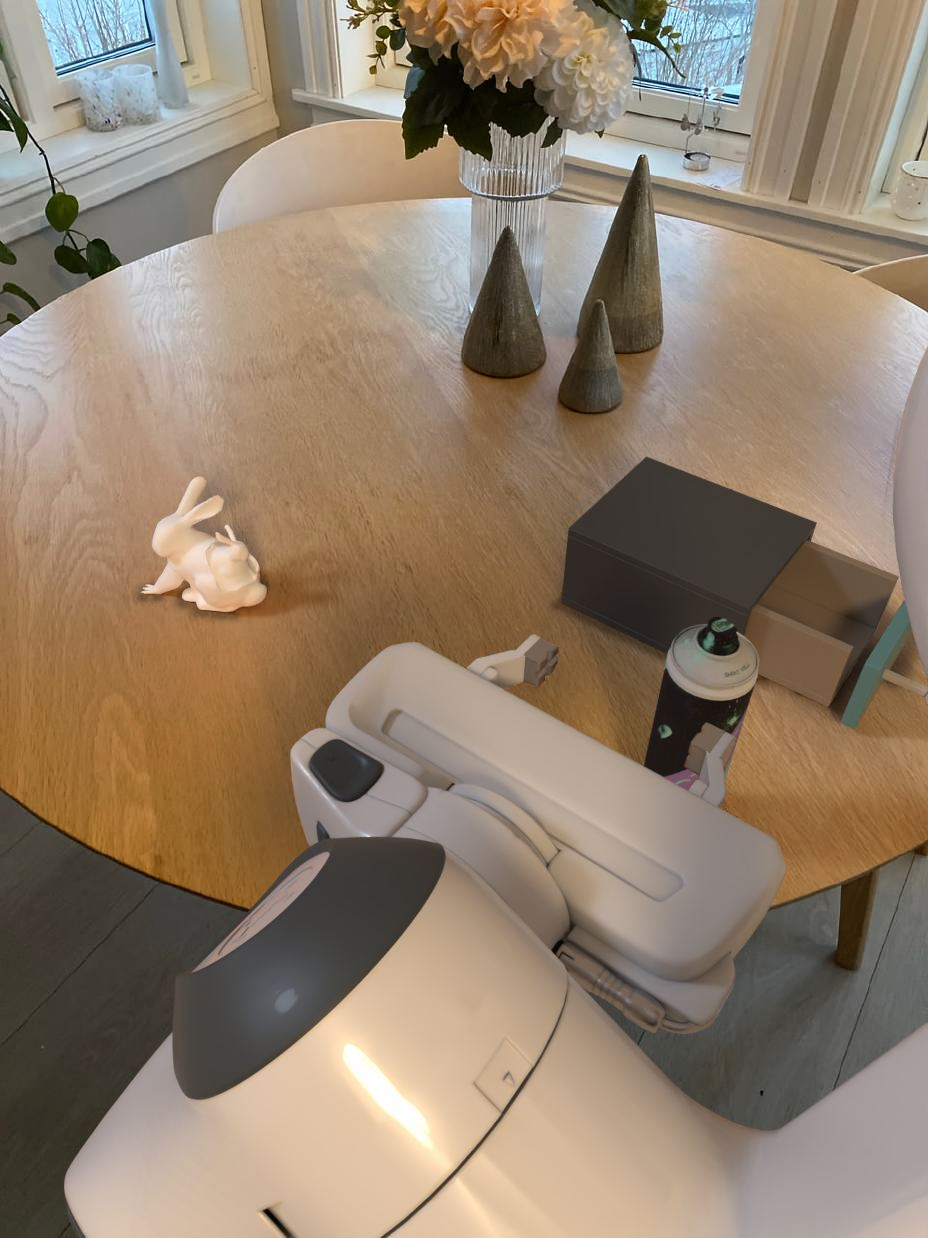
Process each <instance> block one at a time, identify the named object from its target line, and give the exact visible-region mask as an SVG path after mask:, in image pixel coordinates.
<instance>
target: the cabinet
mask: <svg viewBox="0 0 928 1238" xmlns="http://www.w3.org/2000/svg"><path fill="white" fill-rule="evenodd" d="M816 526H817V521H814V520H812V519H809V518H807V517H804V516H802V515H799V514H796V513H793V512H790V511H788V510H785V509H783V508H781V507H778V506H776V505H773V504H770V503H769V502H765V501H762V500H760V499H757V498H755V497H752V496H750V495H747V494H744V493H742V492H740V491H737V490H734V489H732V488H730V487H726V486H723V485H721V484H719V483H717V482H714V481H711V480H708V479H706V478H703V477H700V476H698V475H696V474H693V473H690V472H687V471H685V470H683V469H679V468H678V467H675V466H672V465H669V464H667V463H665V462H662V461H659V460H657V459H654V458H652V457H649V456H645V457H644V458H643V459H642V460H641V461H640V462H638V463H637V464H636V465H635V466H634V467H633V468H632V469H631V470H630V471H629V472H628V473H627V474H626V475H624V476H623V477H622V478H621V479H620V480H619V481H618V482H617V483H616V484H615V485H614V486H612V487H611V488H610V489H609V490H608V491H607V492H606V493H605V494H604V495H602V497H600V498H599V499H598V500H597V501H596V502H595V503H594V504H593V505H591V507H590V508H588V510H586V511H585V512H584V513H583V514H582V515H581V516H580V517H579V518H577V520H576V521H574V522H573V523H572V524H571V525H570V526H568V528H567V538H566V548H565V559H564V567H563V578H562V589H561V598H560V603H561V604H563V605H565V606H567V607H569V608H571V609H573V610H575V611H577V612H578V613H579V612H580V613H582V614H584V615H585V616H588V617H590V618H592V619H594V620H596V621H598V622H600V623H602V624H604V625H606V626H608V627H611V628H612V629H615V630H617V631H619V632H621V633H623V634H625V635H627V636H629V637H631V638H633V639H636V640H637V641H640V642H642V643H643V644H645V645H647V646H650V647H652V648H654V649H656V650H657V651H660V652H662V653H664V654H666V655H667V654H668V651H669V649H670V647H671V644H672V642H673V640H674V638H675V637H676V635H677V634H678V633H680V632H681V631H682V630H684V629H686V628H688V627H691V626H695V625H702V624H708V622H709V620H710V619H711V618H713V617H722V618H724V619H726V620H728V621H729V622H731V623H732V624H733V625H735V627H736V628H737V632H738V633H740V634H741V635H743V636H744V635H745V631H746V628H747V624H748V621H749V617H750V614H751V610H752V609H753V608H754V607H755V605H756V604H757V603H758V601H759V600H760V599H761V598H762V596H763V595H764V594H765V592H766V591H767V590H768V589H769V587H770V586H771V585H772V583H773V582H774V581H775V580H776V578H777V577H778V576H779V575H780V573H781V572H782V571H783V569H784V568H785V567H786V566H787V564H788V563H789V562H790V560H791V559H792V558H793V557H794V555H795V554H796V553H797V552H798V550H799V549H800V548H801V546H802V545H803V544H804V543H805V541H806V540H808V541H811V542H812V539H813V537H814V533H815V530H816Z"/></svg>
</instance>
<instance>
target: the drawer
mask: <svg viewBox="0 0 928 1238" xmlns="http://www.w3.org/2000/svg"><path fill="white" fill-rule="evenodd" d="M899 579H900V575H896V574H893V573H891V572H889V571H886V570H884V569H881V568H878V567H876V566H874V565H871V564H869V563H866V562H865V561H861V560H859V559H857V558H854V557H852V556H849V555H847V554H843V553H841V552H839V551H836V550H834V549H831V548H829V547H826V546H824V545H821V544H818V543H816V542H813V541H812V540H811V541H808V540H806V541H805V543H804V544H803V545H802V546H801V548H800V549H799V550H798V552H797V553H796V554H795V555H794V557H793V558H792V559H791V560H790V562H789V563H788V564H787V566H786V567H785V568H784V569H783V571H782V572H781V573H780V575H779V576H778V577H777V578H776V580H775V581H774V582H773V583H772V585H771V586H770V587H769V589H768V590H767V591H766V592H765V594H764V595H763V596H762V598H761V599H760V600H759V601H758V603H757V604H756V605H755V607H754V608H753V609H752V610H751V614H750V617H749V621H748V624H747V628H746V631H745V635H744V636H745V637H746V638H747V639H748V640H749V641H750V642H751V643H752V644H753V646H754V647H755V648H756V651H757V653H758V656H759V667H758V676H761V677H764V678H766V679H767V680H770V681H772V682H774V683H777V684H778V685H780V686H782V687H784V688H786V689H789V690H791V691H793V692H795V693H797V694H800V695H801V696H804V697H806V698H808V699H809V700H813V701H814V702H816V703H819V704H821V705H823V706H825V707H830V705H831V703H832V702H833V700H834V699H835V697H836V696H837V694H838V693H839V691H840V689H841V688H842V686H843V684H844V683H845V681H846V680H847V678H848V677H849V675H850V674H851V672H852V670H853V669H854V668H855V665H856V664H857V662H858V661H859V659H860V657H861V656H862V654H863V653H864V651H865V650H866V648H867V646H868V645H869V644H870V642H871V640H872V638H873V637H874V635H875V634H876V632H877V631H878V628H879V625H880V622H881V621H882V618H883V616H884V613H885V611H886V609H887V606H888V604H889V601H890V600H891V597H892V594H893V592H894V589H895V587H896V585H897V583H898V580H899ZM911 633H912V628H911V624H910V619H909V615H908V611H907V607H906V603H905V599H904V600H903V601H902V602H901V604H900V606H899V607H898V609H897V611H896V612H895V614H894V615H893V617H892V619H891V620H890V623H889V624H888V626H887V627H886V629H885V630H884V631H883V633H882V635H881V636H880V638H879V640H878V642H877V644H875V646H874V647H873V650H872V651H871V653H870V655H869V656H868V657H867V659H866V661H865V663H864V665H863V667H862V668H861V669H862V670H861V672H860V674H859V677H858V679H857V681H856V683H855V686H854V688H853V691H852V693H851V696H850V698H849V700H848V702H847V704H846V707H845V709H844V712H843V714H842V716H841V719H840V724H842V725H844V726H846V727H848V728H850V729H853V730H856V728H857V726H858V724H859V723H860V721H861V720H862V718H863V717H864V714H865V713H866V711H867V710H868V709H869V706H870V704H871V703H872V701H873V700H874V697H875V696H876V694H877V692H878V691H879V690H880V687H881V686H882V684H883V683H884V681H885V680H886V681H888V682H890V683H892V684H894V685H897V686H899V687H901V688H904V689H905V690H907V691H910V692H912V693H914V694H917V695H919V696H921V697H923V698H924V701H925V704H926V705H927V706H928V686H926V685H924V684H922V683H921V682H920V683H919V682H917V681H915V680H913V679H910V678H908V677H906V676H904V675H901V674H899V673H897V672H894V671H893V670H891V669H892V667H893V665H894V664H895V662H896V660H897V659H898V657H899V655H900V654H901V652H902V650H903V648H904V647H905V645H906V643H907V641H908V639H909V637H910V635H911Z"/></svg>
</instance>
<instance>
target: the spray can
mask: <svg viewBox="0 0 928 1238" xmlns="http://www.w3.org/2000/svg"><path fill="white" fill-rule="evenodd" d="M665 659H666V660H665V663H664V664H665V665H664V669H663V674H662V677H661V678H662V679H661V683H660V688H659V692H658V696H657V697H658V698H657V702H656V707H655V711H654V712H655V713H654V716H653V721H652V724H651V731H650V735H649V739H648V743H647V748H646V753H645V758H644V763H643V766H644V767H646V768H648V769H650V770H652V771H653V772H655V773H657V774H659V775H661V776H662V777H664V778H666V779H668V780H670V781H672V782H673V783H675V784H677V785H679V786H681V787H682V788H684V789H686V790H689V789H690V787H691V786H692V785H693V783H694V782H695V781H696V780H699V775H697V774H696V773H694V772H692V771H690V770H689V769H687V768H685V767H684V765H685V761H686V758H687V756H688V755H689V753H688V750H689V747H690V743H691V741H692V740H693V739H694V737H695V736H696V734H697V733H700V732H701V728H702V726H703V725H704V724H705V723H706V722H707V723H709V724H711V725H713V726H715V727H717V728H719V729H721V730H723V731H725V732H727V733H729V734H731V735H733V736H735V737H736V740H735V743H734V746H733V749H732V752H731V754H730V756H729V758H728V760H727V762H726V764H725V765H724V776H725V779H726V778H727V775H728V772H729V769H730V765H731V763H732V759H733V756H734V753H735V750H736V746H737V743H738V740H739V736H740V734H741V730H742V727H743V724H744V721H745V718H746V715H747V711H748V709H749V704H750V701H751V698H752V695H753V692H754V689H755V687H756V686H755V685H756V683H757V679H758V676H759V674H758V667H759V656H758V653H757V651H756V648H755V647H754V646H753V644H752V643H751V642H750V641H749V640H748V639H747V638H746V637H745V636H743V635H741V634H740V633H738V632H737V628H736V627H735V625H733V624H732V623H731V622H729V621H728V620H726V619H724V618H722V617H713V618H711V619H710V620H709V622H708V624H702V625H695V626H691V627H688V628H686V629H684V630H682V631H681V632H680V633H678V634H677V635H676V637H675V638H674V640H673V642H672V644H671V647H670V649H669V651H668V654H666V658H665Z"/></svg>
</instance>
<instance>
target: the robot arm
mask: <svg viewBox="0 0 928 1238" xmlns="http://www.w3.org/2000/svg"><path fill="white" fill-rule="evenodd" d="M892 475H893V476H892V522H893V523H892V524H893V534H894V535H893V537H894V546H895V555H896V560H897V566H898V572H899V579H900V584H901V590H902V594H903V598H904V599H905V603H906V607H907V611H908V615H909V619H910V624H911V628H912V630H911V632H912V634H913V635H912V636H913V638H914V641H915V642H914V643H915V646H916V649H917V652H918V655H919V658H920V661H921V664H922V667H923V670H924V673H925V677H926V679H927V680H928V345H927V346H926V348H925V351H924V353H923V355H922V357H921V359H920V361H919V364H918V366H917V369H916V372H915V375H914V378H913V381H912V383H911V386H910V389H909V391H908V395H907V397H906V401H905V404H904V409H903V412H902V417H901V421H900V425H899V429H898V434H897V439H896V448H895V456H894V464H893V473H892ZM559 652H560V647H559V646H558V645H556V644H554V643H553V642H551V641H549V640H547V639H545V638H543V637H541V636H540V635H537V633H536V634H535V633H532V634H530V635H529V636H528V637H527V638H526V639H525V640H523V642H522V643H521V644H520V645H519V646H518V647H517V648H516V649H510V650H509V649H508V650H506V651H502V652H497V653H493V654H488V655H484V656H480V657H476V658H475V659H474V660H473V661H472V662H471V663H470V664H469V665H468V666H467V667H464V666H462V665H461V664H459V663H457V662H455V661H453V660H452V659H450V658H447V657H446V656H444V655H442V654H441V653H439V652H437V651H435V650H433V649H432V648H430V647H428V646H427V645H424V644H423V643H421V642H418V641H407V642H401V643H396V644H391V645H389V646H387V647H386V648H384V649H383V650H381V651H380V652H379V653H378V654H376V655H375V656H374V657H373V658H372V659H370V661H368V662H367V663H366V664H365V665H364V666H363V667H362V668H361V669H360V670H359V671H358V672H357V673H356V674H355V675H354V676H353V677H352V678H351V679H350V680H349V681H348V683H347V684H345V686H344V687H343V688H342V689H341V690H340V691H339V693H338V694H337V695H336V696H335V697H334V699H333V700H332V702H331V703H330V705H329V707H328V709H327V710H326V714H325V721H324V723H325V727H317V728H314V729H312V730H310V731H308V732H307V733H305V734H304V735H302V736H301V737H300V738H299V739H298V740H297V741H295V743H294V744H293V745H292V747H291V749H290V752H289V754H290V773H291V783H292V789H293V795H294V800H295V805H296V806H295V807H296V809H297V814H298V817H299V820H300V824H301V828H302V831H303V834H304V837H305V839H306V843H307V844H308V846H309V847H307V848H306V849H304V850H303V851H301V853H300V854H299V855H297V856H296V857H295V858H294V859H293V860H292V861H290V863H289V864H288V866H286V867H285V869H284V870H282V872H281V873H280V874H279V876H278V877H277V878H276V879H275V880H274V881H273V883H272V884H271V885H270V886H269V888H268V889H267V890H266V891H265V892H263V894H262V896H261V897H260V898H259V899H258V900H257V901H256V902H255V904H254V905H252V907H250V909H249V910H248V911H247V912H246V913H244V914H243V916H242V917H241V918H240V919H239V920H238V921H237V922H236V923H235V924H234V925H233V926H232V927H231V928H230V929H229V930H228V931H227V932H226V933H225V934H224V935H223V936H222V937H221V938H220V939H219V940H218V941H216V943H215V944H214V945H213V946H212V947H210V949H209V950H208V951H207V952H205V954H204V955H202V956H201V957H200V958H199V959H198V960H197V961H196V962H195V963H194V964H193V965H191V966H190V967H189V968H188V969H187V970H186V971H184V972H183V973H181V974H179V975H176V976H175V982H174V986H175V987H174V1000H173V1014H172V1015H173V1016H172V1031H171V1033H169V1035H168V1036H167V1037H166V1038H165V1039H164V1041H163V1042H162V1043H161V1044H160V1045H159V1047H158V1048H157V1049H156V1050H155V1051H154V1052H153V1054H152V1055H151V1056H150V1058H149V1059H147V1061H146V1062H145V1064H143V1065H142V1066H141V1069H140V1070H139V1071H138V1072H137V1074H136V1075H135V1076H134V1078H133V1079H132V1080H131V1082H130V1083H129V1084H128V1085H127V1087H126V1088H125V1089H124V1090H123V1092H122V1093H121V1094H120V1095H119V1097H118V1098H117V1099H116V1101H115V1102H114V1104H112V1106H111V1107H110V1108H109V1110H108V1111H107V1112H106V1114H105V1115H104V1116H103V1118H102V1119H101V1120H100V1122H99V1123H98V1125H97V1126H96V1128H95V1129H94V1131H92V1133H91V1135H90V1136H89V1137H88V1139H87V1140H86V1141H85V1143H84V1144H83V1146H82V1147H81V1148H80V1150H79V1152H78V1153H77V1155H76V1156H75V1157H74V1158H73V1160H72V1162H71V1163H70V1165H69V1167H68V1169H67V1171H66V1173H65V1176H64V1183H63V1188H64V1189H63V1190H64V1191H63V1192H64V1199H65V1203H66V1210H67V1217H68V1220H69V1224H70V1225H71V1227H72V1230H73V1233H74V1235H75V1237H76V1238H928V1021H926V1022H925V1023H923V1024H922V1025H921V1026H920V1027H918V1028H916V1029H915V1030H914V1031H912V1032H911V1033H910V1034H908V1035H907V1036H905V1037H904V1038H903V1039H901V1040H900V1041H898V1042H897V1043H896V1044H894V1045H893V1046H892V1047H891V1048H889V1049H888V1050H886V1051H885V1052H884V1053H883V1054H881V1055H879V1056H878V1057H877V1058H875V1059H874V1060H872V1061H871V1062H870V1063H868V1064H867V1065H866V1066H864V1067H863V1068H861V1069H860V1070H859V1071H858V1072H856V1073H854V1074H853V1075H852V1076H851V1077H849V1078H848V1079H847V1080H845V1081H844V1082H843V1083H841V1084H840V1085H838V1086H837V1087H835V1088H834V1089H833V1090H831V1091H830V1092H829V1093H827V1094H826V1095H825V1096H823V1097H822V1098H820V1099H819V1100H818V1101H816V1102H815V1103H813V1104H812V1105H811V1106H810V1107H808V1108H806V1109H805V1110H804V1111H803V1112H801V1113H800V1114H798V1115H797V1116H796V1117H794V1118H793V1119H792V1120H790V1121H789V1122H787V1123H786V1124H785V1125H783V1126H781V1127H780V1128H776V1129H771V1130H769V1129H768V1130H766V1129H759V1128H754V1127H750V1126H745V1125H742V1124H739V1123H736V1122H734V1121H732V1120H730V1119H728V1118H726V1117H723V1116H721V1115H720V1114H717V1113H716V1112H714V1111H712V1110H710V1109H709V1108H707V1107H705V1106H703V1105H702V1104H700V1103H699V1102H697V1100H694V1099H693V1098H692V1097H690V1096H689V1095H688V1094H686V1093H685V1092H684V1090H681V1088H679V1087H678V1086H677V1085H676V1084H675V1083H674V1082H673V1081H672V1080H671V1079H670V1077H668V1076H667V1074H665V1073H664V1072H663V1070H661V1068H659V1066H658V1065H656V1063H654V1061H653V1060H652V1059H651V1058H650V1057H649V1056H648V1055H647V1054H646V1053H645V1051H644V1050H643V1049H641V1048H640V1046H639V1045H638V1044H637V1043H635V1041H634V1040H633V1039H632V1038H631V1037H630V1036H629V1035H628V1033H626V1032H625V1031H624V1029H623V1028H622V1027H621V1026H620V1025H619V1024H618V1023H617V1022H616V1021H615V1020H614V1019H613V1018H612V1017H611V1016H610V1015H609V1014H608V1013H607V1012H606V1011H605V1009H604V1008H603V1007H602V1006H601V1005H600V1004H599V1003H598V1002H597V1001H596V1000H595V999H594V998H593V997H592V995H593V996H594V997H597V998H599V999H601V1000H602V1001H605V1002H606V1003H607V1004H609V1005H612V1006H613V1007H614V1008H616V1009H617V1010H618V1011H620V1012H621V1015H622V1016H623V1017H624V1018H625V1019H626V1020H628V1021H629V1022H631V1023H632V1024H634V1025H635V1026H636V1027H639V1028H640V1029H642V1030H644V1031H646V1032H649V1033H651V1034H656V1033H657V1032H658V1031H659V1030H660V1029H661V1030H663V1031H666V1032H669V1033H673V1034H676V1035H692V1034H696V1033H699V1032H702V1031H704V1030H706V1029H707V1028H709V1027H710V1026H711V1025H713V1024H714V1023H715V1021H716V1020H717V1019H718V1017H719V1015H720V1013H722V1010H723V1008H724V1006H725V1004H726V1003H727V1001H728V999H729V998H730V996H731V994H732V992H733V991H734V988H735V984H736V979H737V977H736V976H737V972H736V965H735V961H734V959H735V957H736V956H737V955H738V954H739V953H740V951H741V950H742V949H743V948H744V947H745V945H746V944H747V942H748V941H749V940H750V939H751V937H752V936H753V934H754V933H755V932H756V930H757V929H758V927H759V926H760V924H761V923H762V921H763V920H764V918H765V916H766V915H767V913H768V911H769V910H770V908H771V906H772V904H773V903H774V900H775V899H776V896H777V894H778V893H779V890H780V888H781V886H782V884H783V881H784V879H785V877H786V872H787V864H786V861H785V858H784V857H785V856H784V854H783V850H782V848H781V846H780V843H779V842H778V840H776V838H774V837H773V836H772V835H770V834H768V833H766V832H765V831H763V830H761V829H759V828H757V827H756V826H753V825H751V824H750V823H748V822H746V821H745V820H743V819H741V818H739V817H738V816H735V815H733V814H731V813H730V812H728V811H726V810H724V809H723V806H724V804H725V800H726V797H727V795H728V794H727V783H726V778H725V776H724V765H725V764H726V762H727V760H728V758H729V756H730V754H731V752H732V749H733V746H734V743H735V740H736V737H735V736H733V735H731V734H729V733H727V732H725V731H723V730H721V729H719V728H717V727H715V726H713V725H711V724H709V723H707V722H706V723H705V724H704V725H703V726H702V728H701V732H700V733H697V734H696V736H695V737H694V739H693V740H692V741H691V743H690V747H689V750H688V753H689V755H688V756H687V758H686V761H685V765H684V767H685V768H687V769H689V770H690V771H692V772H694V773H696V774H697V775H699V780H696V781H695V782H694V783H693V785H692V786H691V787H690V789H689V790H686V789H684V788H682V787H681V786H679V785H677V784H675V783H673V782H672V781H670V780H668V779H666V778H664V777H662V776H661V775H659V774H657V773H655V772H653V771H652V770H650V769H648V768H646V767H644V765H642V764H640V763H638V761H635V760H633V759H631V758H629V757H628V756H627V755H624V754H622V753H621V752H618V751H617V750H616V749H613V748H611V747H609V746H608V745H606V744H604V743H602V742H601V741H599V740H597V739H595V738H593V737H592V736H590V735H588V734H586V733H584V732H582V731H580V730H579V729H577V728H575V727H573V726H572V725H570V724H568V723H566V722H564V721H562V720H561V719H559V718H557V717H555V716H553V715H551V714H550V713H548V712H546V711H545V710H542V709H540V708H539V707H537V706H535V705H533V704H531V703H530V702H527V701H526V700H525V699H522V698H520V697H519V696H517V695H515V694H514V693H512V692H510V691H509V690H506V689H508V688H510V687H513V686H516V685H519V684H521V683H524V682H525V683H527V684H529V685H531V686H533V687H534V688H537V689H538V688H539V687H540V686H542V684H544V682H545V681H546V677H548V676H551V675H552V674H553V672H554V671H555V669H556V668H557V666H558V661H559V658H558V654H559ZM590 994H592V995H590ZM667 1015H668V1016H670V1017H672V1019H673V1020H672V1019H669V1018H667ZM674 1019H675V1020H674Z"/></svg>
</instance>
